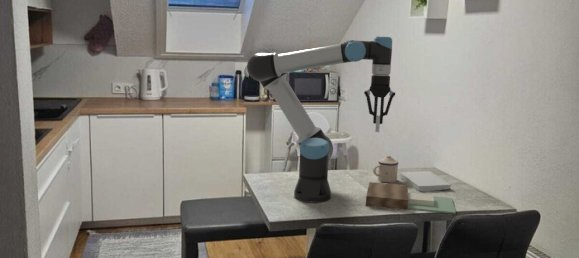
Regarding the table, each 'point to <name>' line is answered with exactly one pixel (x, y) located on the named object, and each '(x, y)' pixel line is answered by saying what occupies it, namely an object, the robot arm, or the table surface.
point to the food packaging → (424, 181)
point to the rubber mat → (436, 206)
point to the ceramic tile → (420, 199)
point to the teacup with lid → (387, 170)
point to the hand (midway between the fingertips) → (377, 131)
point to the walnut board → (387, 195)
